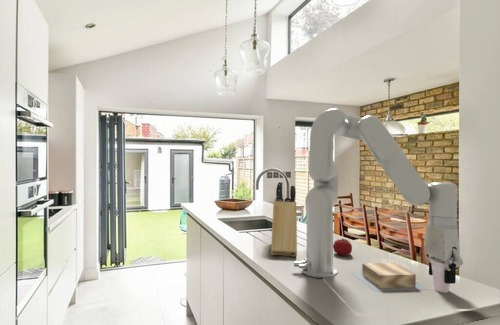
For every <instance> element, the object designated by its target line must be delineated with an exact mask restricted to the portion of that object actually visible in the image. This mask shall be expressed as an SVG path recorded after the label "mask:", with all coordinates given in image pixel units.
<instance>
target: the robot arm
mask: <svg viewBox="0 0 500 325" xmlns="http://www.w3.org/2000/svg"><path fill="white" fill-rule="evenodd" d="M335 135H336V136H340V137H343V138H344V137H345V138H350V139H354V140H359V141H362V142H363V143H364V145H365V146H366V147H367V149H368V150H369V152H370V154H371V155H372V157H374V159H375V161H376V162H377V163H378V165H379V166H380V168H381V169H383V171H384V172H385V173H386V174H387V176H388V177H389V179H390V180H391V182H392V183H393V184H394V186H395V187H396V189H397V190H398V191H399V193H400V194H401V196H402V198H403V199H404V200H405V201H406V202H407V203H408V204H409V205H412V206H422V205H425V204H426V203H427V204H428V223H427V225H426V229H425V233H424V234H425V235H424V245H423V250H424V252H425V255H426V257H427V262H428V275H429V276H433V273H432V265H431V263H430V259H431V258H437V259H440V260H442V261H444V262H445V266H446V269H447V270H445V276H444V282H445V283H446V284H450V285H451V284H454V285H455V284H456V282H457V281H456V279H457V276H456V273H457V271H458V270H459V268H460V267H461V266H462V265H463V264H464V261H463V258H462V257H461V255H460V254H461V252H460V238H459V237H460V236H459V230H458V226H457V225H458V186H457V185H456V183H453V182H447V181H445V182H441V181H436V182H429V181H428V182H427V181H425V180H424V179H423V178H422V176H421V175H420V174H419V172H418V171H417V169H415V166H414V165H413V164H412V163H411V161H410V160H409V159H408V158H407V156H406V153H405V152H404V150H403V149H402V148H401V146H400V145H399V144H398V143H397V140H395V139H394V137H393V135H392V134H391V133H390V131H389V130H388V128H386V126H385V125H384V122H382V120H381V119H379V117H377V116H375V115H372V114H371V115H365V116H364V117H362V116H361V117H360V116H355V115H351V114H350V115H349V114H347V113H346V112H345V111H344V110H342V109H340V108H329V109H326V110H325V111H323V112H321V113H320V114H319V115H318V116H317V117H316V118H315V119H314V121H313V122H312V125H311V128H310V134H309V155H308V156H309V158H308V175H309V176H310V177H309V178H310V179H312V181H313V187H312V188H311V189H310V190H308V192H307V194H306V196H305V203H304V204H305V214H306V215H305V216H306V257H304V258H303V260H301V261H299V260H298V261H295V260H294V261H293V267H294V268H297V267H298V269H301V272H302V273H303V274H305V275H306V276H308V277H311V278H317V279H324V278H332V277H335V276H337V275H338V269H336V267H334V248H333V245H334V214H333V213H334V212H333V211H334V210H333V207H335V205H336V204H337V202H338V197H339V195H338V193H339V192H338V191H339V168H338V167H339V166H338V164H337V163H336V161H335V160H334V136H335ZM449 262H451V263H452V264H451V265H450V264H449Z"/></svg>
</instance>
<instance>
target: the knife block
mask: <svg viewBox="0 0 500 325" xmlns="http://www.w3.org/2000/svg"><path fill="white" fill-rule="evenodd" d="M283 184H284V183H283V182H282V181H279V182H278V183H277V184H276V189H275V195H276V196H275V201H273V205H272V207H273V208H272V225H271V226H272V227H271V245H270V246H271V247H270V248H271V249H270V255H272V256H278V255H279V256H285V257H286V256H289V257H290V256H291V257H297V255H298V248H297V246H298V239H297V238H298V237H297V236H298V231H297V230H298V228H297V227H298V224H297V223H298V222H297V221H298V220H297V218H298V217H297V201H296V200H295V199H296V194H297V193H296V192H297V191H296V186H295V185H291V186H290V188H289V189H290V191H289V193H290V194H289V195H290V198H289V197H285V199H284V198H283V188H284V187H283Z"/></svg>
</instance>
